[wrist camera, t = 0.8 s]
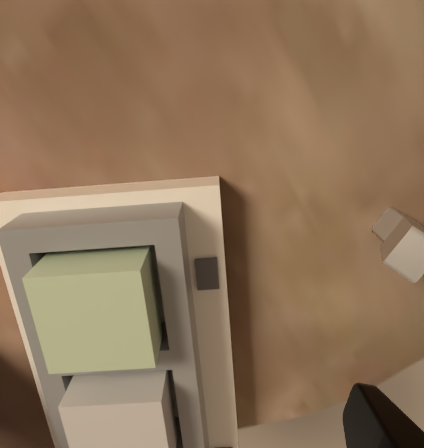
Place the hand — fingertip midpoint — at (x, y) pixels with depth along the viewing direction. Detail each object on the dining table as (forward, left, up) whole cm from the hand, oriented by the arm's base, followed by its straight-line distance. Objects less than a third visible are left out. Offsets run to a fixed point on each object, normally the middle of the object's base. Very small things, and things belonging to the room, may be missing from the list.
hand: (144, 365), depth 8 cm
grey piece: (-4, -11, -14) cm, 18 cm away
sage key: (-4, -4, -10) cm, 12 cm away
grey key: (-4, -11, -10) cm, 15 cm away
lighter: (+11, -3, -14) cm, 18 cm away
